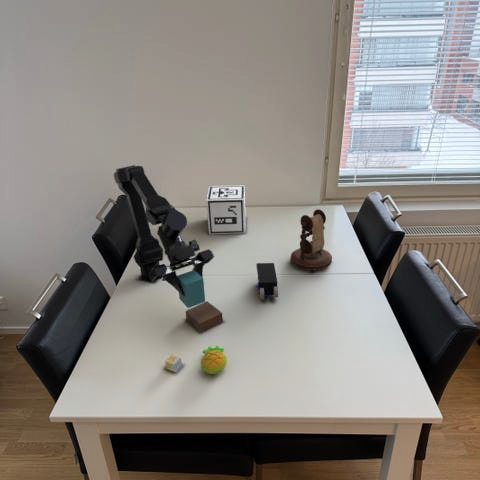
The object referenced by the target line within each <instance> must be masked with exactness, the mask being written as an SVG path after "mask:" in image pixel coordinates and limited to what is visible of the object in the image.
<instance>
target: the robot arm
mask: <svg viewBox="0 0 480 480" xmlns="http://www.w3.org/2000/svg"><path fill="white" fill-rule="evenodd" d="M113 178H114V181H115V184H117V187H118V189H119V190H120V191H121V192H122V193H123V194H124V195H125V196H126V200H127V203H128V207H129V210H130V215H131V218H132V221H133V225H134V229H135V232H136V235H137V240H136V243H135V253H134V255H133V258H134V262H135V264H136V265H137V266H138V267H139V269H140V270H139V271H140V276H139V277H138V279H139V280H141V281H145V282H151V283H156V282H157V281H159V280H161V281H162V282H165V281H166V282H167V283H168V284H169V285H170V286H172V287H173V288H174V289H175V290H176V291H177V292H178V294H179V293H180V294H181V295H182V296H185V294H184V291H183V288H182V286H181V284H180V282H179V280H178V279H177V276H178V275H177V272H176V271H178V270H181V269H184V268H186V267H189V266H193V268H192V269H191V271H192V270H195V271H196V272H197V273H198V274H199V275H200V276H201V277H202V278H203V279H204V277H203V276H204V273H203V272H204V267H205V265H206V264H209V263H210V262H212V260H213V259H214V258H215V255H214V252H213V251H212V250H211V249H209V248H208V249H204V250H202V251H200V249H201V248H200V245H199V242H198V240H197V239H196V238H195V239H192V240H189V241H188V244H186V242H185V240H183V239H182V236H181V235H182V233H183V231H184V230H185V228H186V227H187V224H188V219H187V216H186V215H185V214H183V213H182V212H181V211H179V210H178V209H176V207H175V206H174V205H172V204H171V203H170V202H169V201H168V199H167V198H166V197H164V196H161V195H159V194H158V192H157V190H156V189H155V187H154V186H153V184H152V183H151V180H150V179H149V178H148V177H147V175H146V173H145V169H144V167H143V166H142V165H135V164H132V165H128V166H124V167H118V168H116V169H115V172H114V173H113ZM144 205H145V206H144ZM149 223H150V224H151V225H152V226H157V225H159V226H158V227H157V231H156V233H157V236H158V237H159V239H157V238H156V237H155V236H154V235H153V234H152V231H151V227H150V224H149ZM160 224H161V225H160ZM159 240H160V241H159ZM160 243H161V244H160ZM161 245H162V246H161ZM197 251H198V252H197ZM196 252H197V254H196ZM164 255H165V256H167V259H168V261H169V265H166V264H165V263H162V264H160V262H162V261H164V260H163V259H164Z"/></svg>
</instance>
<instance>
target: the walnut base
mask: <svg viewBox="0 0 480 480" xmlns="http://www.w3.org/2000/svg"><path fill="white" fill-rule="evenodd" d="M185 319H186V321H187V322H188V323H189V324H190V325H191V326H192V327H193V328H195V329H196V330H197V331H198V332H199V333H200V334H202V333H204V332H206V331H207V330H210V329H212V328H214V327H216V326H217V325H219V324H221V323H223V322H224V320H223V312H222V311H221V310H219V309H218V308H217V307H215V306H214V305H213V304H211V303H210V302H209V301H208V300H207V301H206V300H205V302H203V303H200V304H198V305H195V306H192V307H190V308H188V309H186V310H185Z"/></svg>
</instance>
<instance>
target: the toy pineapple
mask: <svg viewBox="0 0 480 480" xmlns="http://www.w3.org/2000/svg"><path fill="white" fill-rule="evenodd" d="M224 351H225V348H224V347H220V346H219V345H216V346H215V347H212V346H208V347H207V349H203V350H202V353H203V354H204V355H203V356H202V357H201V359H200V367H201V369H202V370H203V371H204V372H206V373H207V374H210V375H216V374H219V373H221V372H222V371H223V370H224V369H225V367H226V366H227V361H228V360H227V356H226V355H225V354H224V353H223V352H224Z"/></svg>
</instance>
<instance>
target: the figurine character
mask: <svg viewBox="0 0 480 480" xmlns="http://www.w3.org/2000/svg"><path fill="white" fill-rule="evenodd" d="M255 265H256V272H257V286H256V288H257V290H258V296H259V300H262V302H266V297H270V299H271V301H272V302H274V301H275V298H277V299H278V298H279V287H278V283H279V282H278V277H277V272H276V271H277V270H276V267H275V266H276V265H275V262H256V264H255Z"/></svg>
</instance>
